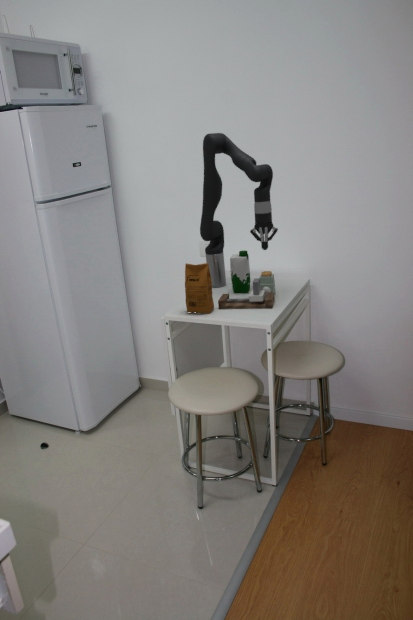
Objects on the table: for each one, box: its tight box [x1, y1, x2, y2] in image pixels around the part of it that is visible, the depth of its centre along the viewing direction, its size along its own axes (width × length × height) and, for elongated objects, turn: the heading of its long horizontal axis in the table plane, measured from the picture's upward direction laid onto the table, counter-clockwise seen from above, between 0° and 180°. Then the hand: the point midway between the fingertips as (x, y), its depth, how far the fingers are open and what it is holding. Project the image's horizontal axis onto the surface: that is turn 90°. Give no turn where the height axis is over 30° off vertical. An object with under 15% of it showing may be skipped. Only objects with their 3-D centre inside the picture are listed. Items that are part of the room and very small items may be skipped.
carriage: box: [248, 277, 265, 302], centre depth 222 cm, size 6×8×8 cm
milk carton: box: [229, 250, 251, 295], centre depth 243 cm, size 9×9×20 cm
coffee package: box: [184, 262, 215, 314], centre depth 221 cm, size 10×12×22 cm
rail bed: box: [217, 293, 276, 310], centre depth 225 cm, size 24×10×4 cm, turn 77°
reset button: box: [260, 270, 273, 277], centre depth 232 cm, size 5×5×4 cm
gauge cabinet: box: [259, 273, 276, 298], centre depth 233 cm, size 6×8×10 cm
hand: (265, 249), depth 228 cm, fingers closed
